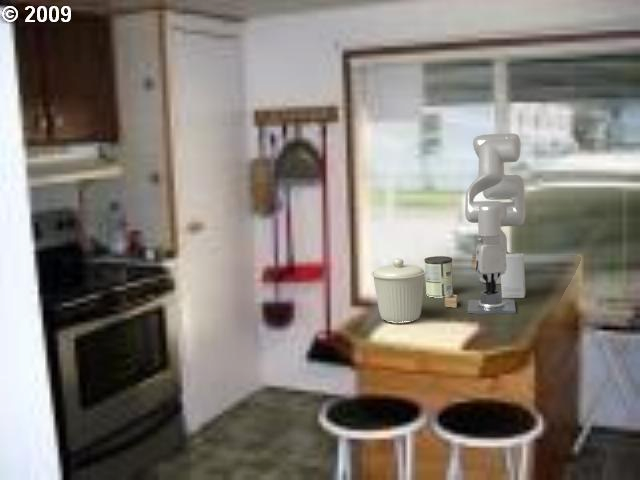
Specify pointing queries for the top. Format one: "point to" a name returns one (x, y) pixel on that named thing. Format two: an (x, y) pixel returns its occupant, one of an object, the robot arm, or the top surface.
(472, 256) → the dish frame
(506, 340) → the top surface
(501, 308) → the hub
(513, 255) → the skincare box
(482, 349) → the top surface
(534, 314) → the top surface
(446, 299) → the stand
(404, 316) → the canister
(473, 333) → the top surface
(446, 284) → the coffee can
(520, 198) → the robot arm
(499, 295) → the plate ring
